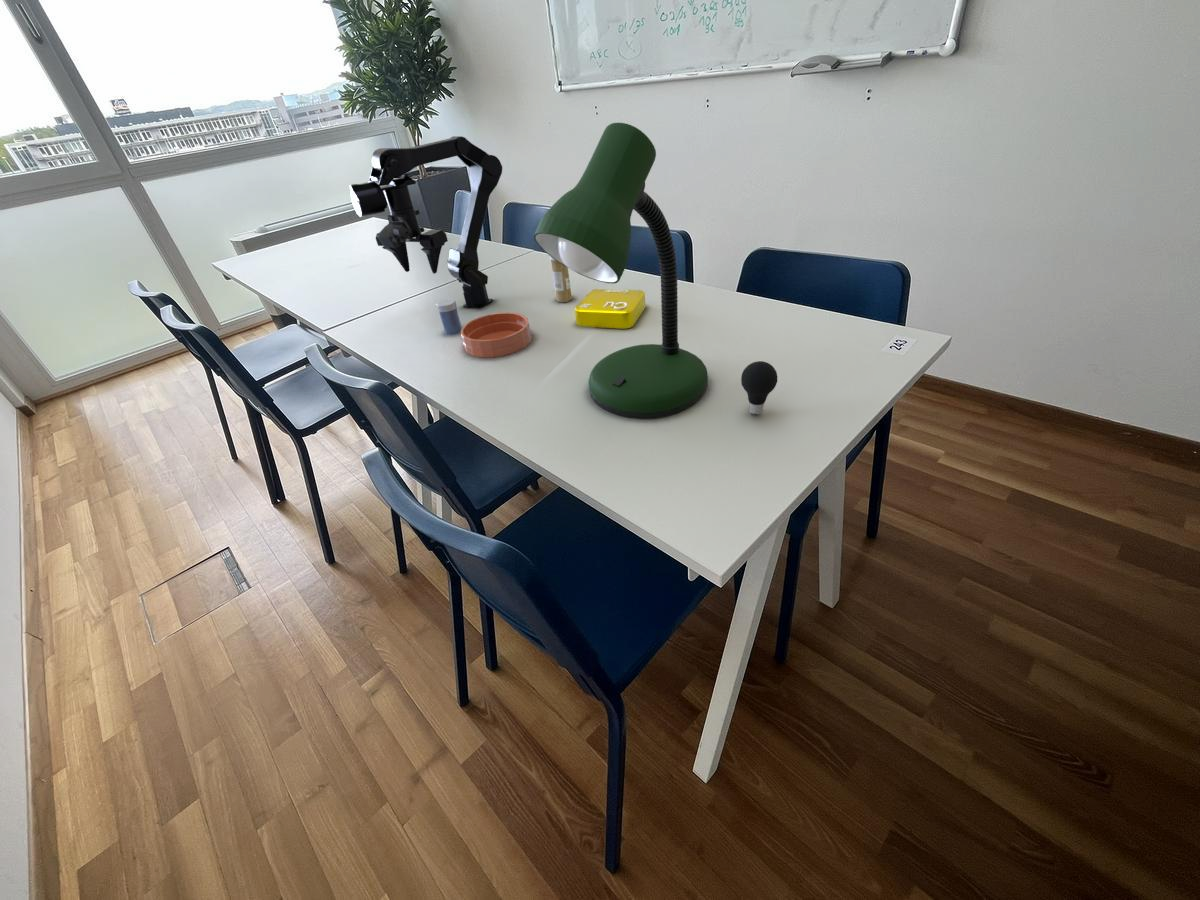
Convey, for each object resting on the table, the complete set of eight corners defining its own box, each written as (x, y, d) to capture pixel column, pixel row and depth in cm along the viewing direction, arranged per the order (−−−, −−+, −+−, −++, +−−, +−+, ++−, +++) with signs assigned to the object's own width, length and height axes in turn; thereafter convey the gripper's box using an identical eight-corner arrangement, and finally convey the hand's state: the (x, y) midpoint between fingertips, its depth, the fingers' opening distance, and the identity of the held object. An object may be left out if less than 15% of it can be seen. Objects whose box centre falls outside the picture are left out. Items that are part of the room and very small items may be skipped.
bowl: (490, 326, 134) (486, 310, 131) (543, 332, 128) (540, 315, 125) (451, 354, 122) (446, 337, 120) (508, 362, 116) (504, 344, 114)
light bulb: (734, 407, 93) (737, 357, 87) (766, 403, 93) (771, 353, 87) (744, 425, 88) (748, 373, 82) (777, 420, 88) (784, 369, 82)
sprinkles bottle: (575, 299, 144) (569, 250, 135) (561, 304, 142) (554, 254, 134) (567, 295, 147) (560, 247, 139) (553, 299, 145) (545, 251, 137)
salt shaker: (452, 327, 136) (444, 298, 131) (466, 329, 134) (458, 299, 129) (441, 335, 133) (432, 305, 128) (455, 336, 131) (447, 306, 126)
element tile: (647, 305, 135) (646, 287, 132) (631, 329, 124) (630, 310, 121) (593, 303, 140) (592, 286, 137) (574, 326, 129) (571, 308, 126)
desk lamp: (624, 456, 84) (597, 141, 57) (536, 412, 98) (481, 140, 71) (729, 379, 101) (746, 105, 74) (641, 350, 114) (629, 110, 87)
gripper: (349, 216, 122) (372, 281, 132) (408, 216, 115) (429, 285, 125) (382, 204, 130) (402, 266, 140) (440, 204, 123) (457, 270, 132)
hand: (421, 272), depth 134 cm, fingers open, 9 cm apart
